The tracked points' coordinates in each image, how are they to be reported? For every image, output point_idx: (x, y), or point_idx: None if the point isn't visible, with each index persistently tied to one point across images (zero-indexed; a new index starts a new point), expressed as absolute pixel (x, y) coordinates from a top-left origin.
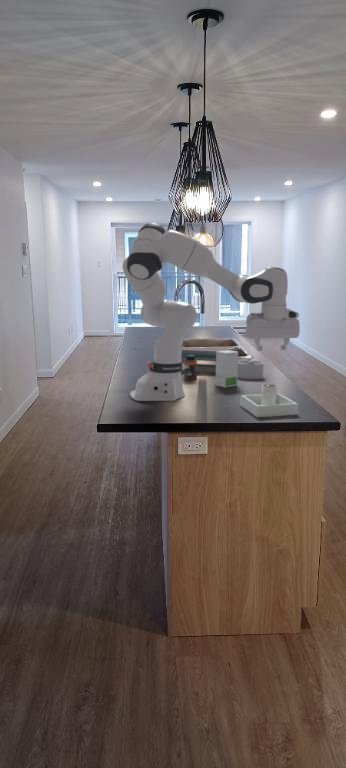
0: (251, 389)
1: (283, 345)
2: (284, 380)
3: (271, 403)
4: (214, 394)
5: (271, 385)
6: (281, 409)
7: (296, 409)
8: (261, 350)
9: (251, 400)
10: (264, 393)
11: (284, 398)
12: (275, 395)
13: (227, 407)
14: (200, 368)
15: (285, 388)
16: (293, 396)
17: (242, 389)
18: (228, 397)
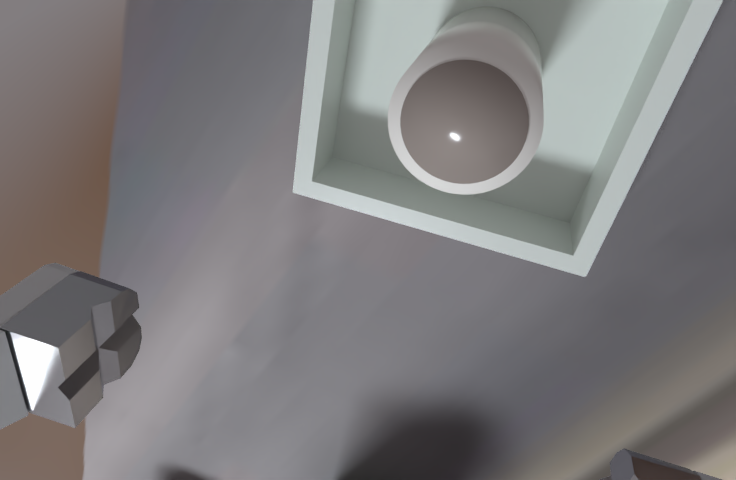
0: (301, 419)
1: (27, 363)
2: (87, 433)
3: (497, 16)
4: (541, 457)
5: (457, 96)
6: None
7: None
8: (648, 459)
9: (513, 219)
10: (541, 82)
11: (327, 66)
12: (444, 34)
13: (696, 245)
14: None
15: None
16: (160, 231)
17: (343, 440)
18: (513, 387)
